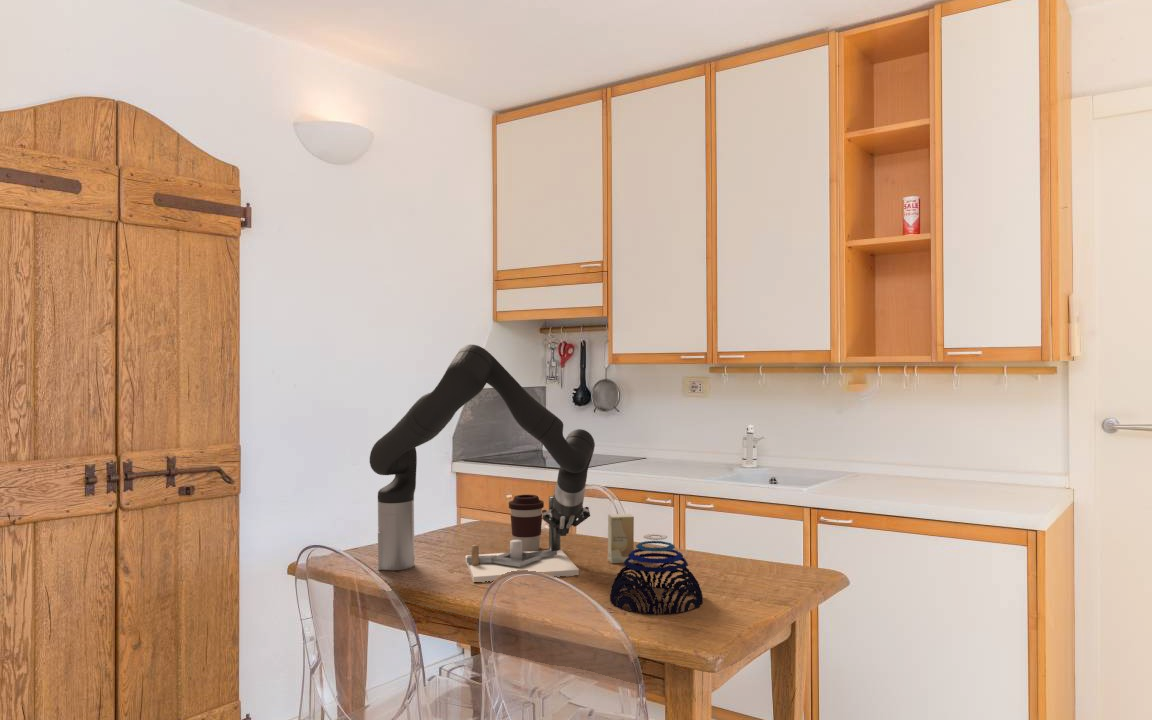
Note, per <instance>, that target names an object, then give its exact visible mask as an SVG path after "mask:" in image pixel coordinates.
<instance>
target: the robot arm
mask: <svg viewBox="0 0 1152 720" xmlns="http://www.w3.org/2000/svg"><path fill="white" fill-rule="evenodd" d="M486 385H489V386H490V387H491V388H493V389H494V390H495V391H496V392H497V393H498V395H499V396H500V397H501V399H502V400H503V401H504V403H505V404H506V407H507V408H508V410H509V411H510V414H511V415H512V417H513V419H514V420H515V421H516V423H517V424H518V426H519V427H521V428H522V429H523V430H524V431H525V432H526V433H528V435H530V436H532V437H534V439H535V440H537V441H538V442H540V443H541V444H542V445H543V447H544V448H545V450H546V451H547V452H548V454H550V456H551V457H552V458H553V460H554V461H555V462H556V463H557V465H559V468H558V474H557V480H556V483H555V487H554V490H553V491H554V493H553V496H554V499H553V505H552V506H551V507H550V510H549V509H548V510H546V509H542V511H541V514H542V521H544V522H546V523H547V524H548V526H549V525H551V526H552V527H553V528H557V527H558V534H560V537H566V536H567V535H568V534H569V533H570V528H571V527H577V526H579V525H580V524H582V523H583V522H585V521H586V520H587V519H588V518H590V517H591V512H590V507H589V506H583V505H584V499H585V494H586V484H587V483H586V482H587V478H588V471H589V466H590V464H591V461H592V458H593V455H594V453H595V452H594V451H595V446H596V444H595V443H596V442H595V440H594V439H595V438H594V437H593V435H592V434H591V433H590V432H589V431H587V430H586V429H581V428H578V429H575V430H572V431H570V432H569V433H568V435H566V438H565V436H564V435H563V432H564V422H563V421H562V420H561V419H560V418H559V417H558V416H556V415H555V414H554V413H553V412H552V411H550V410H549V409H548V408H546V407H545V406H543V405H542V404H541V403H540V402H539V401H537V400H536V399H535V398H534V397H533V396H532V395H531V394H529V392H527V391H526V390H525V388H524V387H523V386H522V385H521V384H520V383H519V382H518V381H517V380H516V378H514V377H513V375H512V374H510V373H509V372H508V370H507V369H506V368H505V367H504V366H503V365H502V364H501V363H500V362H499V361H498V360H497V359H496V358H495V357H494V356H493V354H492V353H490V352H489V351H488V350H487V349H485V348H484V347H482V346H480V345H478V344H477V345H476V344H466V345H464V346H463V347H461V348H460V349H459V350H458V352H457V354H455V356H454V358H453V359H452V361H451V362H450V363H449V365H448V367H447V368H446V371H444V374H443V376H442V378H441V379H440V381H439V382H438V384H436V386H435V388H434V389H433V390H432V391H431V392H428V393H426V394H423V396H420V397H419V399H418V400H416V402H414V404H413V405H412V406H411V407H410V408H409V410H408V411H407V412H406V414H404V415H403V417H402V418H401V419H400V420H399V421H398V422H397V423H396V424H395V425H394V426H393V427H392V428H391V429H389V431H388V432H387V433H386V434H384V435H383V436H382V437H380V439H379V438H378V440H377V441H376V442H375V443H374V444H373V446H372V448H371V451H370V452H369V453H370V454H369V466H370V468H371V469H372V471H373V472H374V473H375V474H377V475H380V476H392V475H394V478H393V480H391V482H390V483H388V484H387V485H385V486H383V487H382V488H380V489H379V490H378V492H377V557H378V558H377V570H379V571H380V570H381V571H382V570H384V571H399V570H402V571H403V570H406V569H410V568H413V567H414V566H415V565H416V564H415V563H416V562H415V560H416V559H415V557H416V556H415V492H416V488H417V487H416V485H417V467H418V465H417V464H418V463H417V462H418V457H417V449H416V447H417V448H418V447H419V446H422V445H424V444H426V443H428V442H431V440H433V439H434V438H435V437H436V436H438V435H439V434H440V433H441V432H442V431H443V430H444V429H445V428H446V426H447V425H448V424H449V423H450V421H451V420H452V419H453V417H454V416H455V415H456V413H457V412H458V411H459V410H460V409H461V408H462V407H463V406H465V405H466V404H467V403H468V402H470V401H471V400H472V399H474V398H475V397H477V395H479V394H480V393H481V392H482V391H483V389H484V388H485V386H486ZM555 517H556V518H557V519H558V520H557V519H556V518H555Z"/></svg>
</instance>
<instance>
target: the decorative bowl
mask: <svg viewBox="0 0 1152 720" xmlns="http://www.w3.org/2000/svg"><path fill="white" fill-rule="evenodd" d="M643 538H644V539H646V540H645V541H641V542H638V544H636V545H635V548H634V549H633V551H632V552H631V553H630V554H629V555H628V556H629V557H628V558H627V559H626V560H625V561H624V563H623V564H624V567H622V568H621V569H620V571H619V572H618V573H617V574H616V576H615V577H614V580H613V583H612V585H611V589H610V594H609V602H610V603H611V605H613V607H616V608H618V609H620V610H622V611H625V612H628V613H634V614H641V615H651V616H655V615H656V616H658V615H661V616H663V615H665V616H666V615H668V616H669V615H678V614H684V613H688V612H690V611H694V610H696V609H699V608H700V607H701V606H702V605H703V602H704V601H703V599H704V598H703V592H702V591H703V590H702V589H701V587H700V583H699V581H698V580H697V578H696V576H694V574H693V573H692V571H690V569H689V568H687V567H688V566H689V564H688V561H687V560H686V558H685V557H684V555H683V553H681V552H680V551H679V550H677V549H675V548H676V547H675V545H674V544H673V543H671V542H666V541H662V540H665V539H666V540H667V538H668V535H666V534H661V533H648V534H645V535H643ZM646 544H650V545H651V544H662V545H665V546H663V547H657V546H656V547H649V546H644V545H646ZM641 552H647V553H641ZM648 552H649V553H648ZM650 552H651V553H650ZM661 552H662V553H661ZM664 552H668V553H664ZM669 552H670V553H674V554H676V555H674V554H670V553H669ZM637 553H640V554H637ZM651 557H652V558H651ZM655 557H657V558H655ZM660 557H662V558H660ZM631 559H632V560H633V562H631V563H630V562H629V560H631ZM634 561H635V562H634ZM679 561H681V562H682V563H679ZM643 563H645V564H658V565H657V566H654V567H651V566H645V565H644V564H643ZM659 564H660V565H659ZM667 572H668V574H667V575H666V576H665V578H664V580H663V581H662V579H663V577H664V575H665V574H666V573H667ZM651 573H652V574H653V575H652V576H651ZM676 573H677V575H676V576H674V577H673V574H676ZM678 573H681V574H678ZM658 575H659V576H658ZM657 576H658V577H657ZM645 577H646V579H645ZM669 579H670V581H669ZM680 579H681V580H680ZM677 580H678V581H677ZM656 581H657V584H656ZM668 581H669V582H668ZM662 582H663V583H662ZM654 589H663V591H662V593H661V596H660V599H658V596H657V593H656V592H655V590H654ZM670 590H671V591H670ZM632 591H634V592H632ZM669 591H670V592H669ZM676 592H677V595H676V597H675V598H674V600H673V597H674V595H675V593H676ZM624 593H627V594H629V595H626V594H624ZM637 594H638V595H639V596H638V595H637ZM630 595H631V596H630ZM683 595H684V596H683ZM688 596H693V597H694V598H691V599H688V600H686V599H687V597H688ZM639 597H640V598H639ZM643 597H644V598H643ZM667 597H668V598H667ZM634 598H635V599H634ZM640 599H641V600H640ZM666 599H667V601H666ZM635 600H636V601H635ZM685 600H686V603H685V605H684V609H683V610H682V607H683V604H684V602H685ZM637 603H638V604H637ZM642 603H643V604H644V606H643V605H642ZM671 604H673V605H671ZM625 605H627V606H628V607H629V608H630V610H629V609H625V608H624V606H625ZM638 605H639V606H638ZM659 605H660V606H659ZM691 605H693V606H694V607H693V608H691V609H690V606H691ZM639 609H640V610H639ZM654 610H655V611H654ZM664 610H665V611H664Z"/></svg>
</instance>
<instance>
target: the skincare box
mask: <svg viewBox="0 0 1152 720" xmlns="http://www.w3.org/2000/svg"><path fill="white" fill-rule="evenodd" d="M607 517H608V518H607V523H608V524H607V561H609V562H610V564H624V561H625V560H626V559H627V558H628V557H629V556H628V555H629V554H630V553H631V552H632V551H634V550H635V548H634V547H635V545H634V536H635V535H634V533H635V531H634V530H635V525H634V524H635V523H634V522H635V521H634V520H635V516H633V514H631V513H616V514H615V513H613V514H612V513H611V514H608V515H607ZM629 562H631V563H634V560H632V559H631V560H629Z"/></svg>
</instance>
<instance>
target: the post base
mask: <svg viewBox="0 0 1152 720" xmlns="http://www.w3.org/2000/svg"><path fill="white" fill-rule="evenodd" d="M479 547H480V546H479V544H472V545H471V554H467V555H465V564H466V565H467V568H468V572H469V574H471V575H470V577H471V580H472V582H482V583H492V581H493V580H494V579H496V578H497V577H499V576H501V575H502V574H505V573H507V572H511V571H517V570H528V571H536V572H542V573H547V574H549V575H554V576H557V577H556V578H561V577H560V576H566V577H575V576H574V575H579V576H580V569H579V568H578V567H577V566H576V565H575V563H573V561H572V560H571V559H570V558H569V557H568V556H567V554H566V553H565V552H564V551H563V550H562V549H561V550H558V551H557V555H553V556H547V557H542V558H541V559H540V560H537V561H535V562H532V563H529V564H527V565H524V566H521V567H517V566H510V565H504V564H498V563H491V562H488V563H479V556H491V555H497V556H498V555H501V554H504V553H505V552H497V553H484V554H483V553H482V554H480V553H479V551H480V550H479V549H480V548H479ZM537 551H538V550H536V551H527V552H526V553H531V552H537ZM509 552H510V558H512V559H521V558H522V541H521V540H513V539H512V540H510V541H509ZM468 556H472V563H467V557H468ZM485 581H487V582H485ZM488 581H490V582H488Z"/></svg>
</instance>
